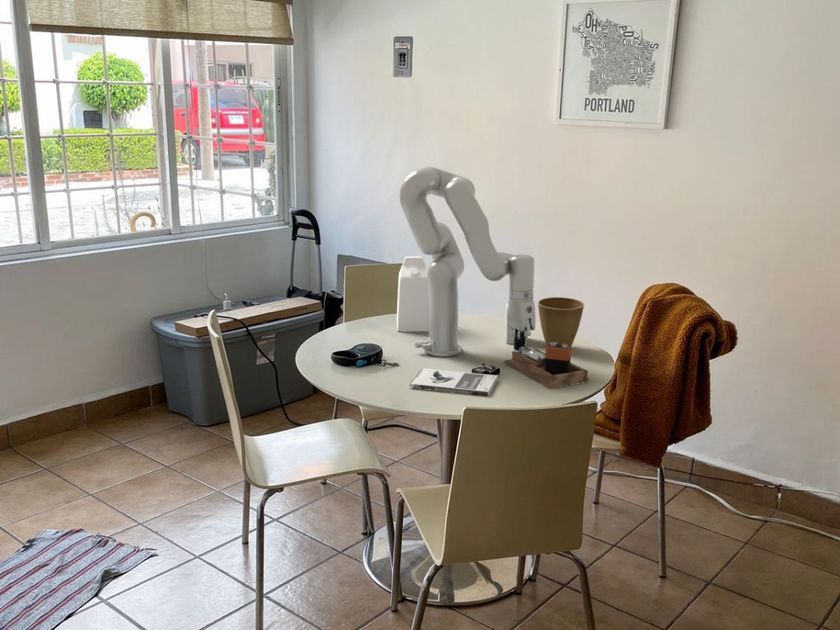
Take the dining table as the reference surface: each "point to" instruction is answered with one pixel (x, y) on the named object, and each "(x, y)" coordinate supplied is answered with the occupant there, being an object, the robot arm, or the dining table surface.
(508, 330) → the supplement box
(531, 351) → the shaft
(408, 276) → the milk
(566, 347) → the battery
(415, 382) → the book
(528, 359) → the tray
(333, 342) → the dining table surface
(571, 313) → the plant pot
